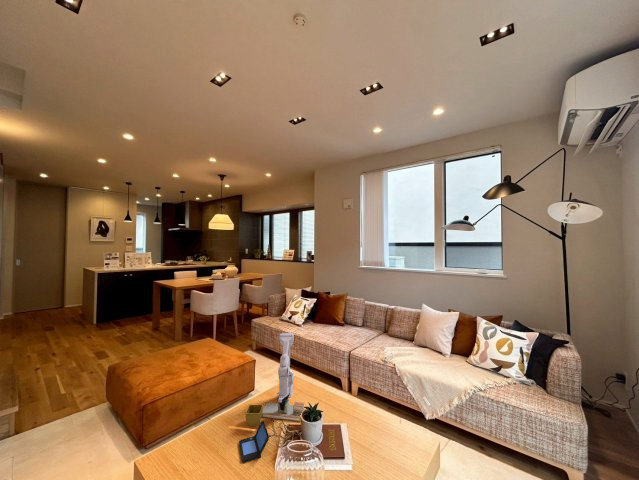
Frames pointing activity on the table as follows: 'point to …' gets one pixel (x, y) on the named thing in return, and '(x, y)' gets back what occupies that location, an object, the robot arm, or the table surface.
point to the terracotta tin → (298, 408)
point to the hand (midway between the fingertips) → (283, 407)
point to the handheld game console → (254, 444)
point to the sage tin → (285, 407)
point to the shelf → (272, 412)
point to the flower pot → (253, 414)
